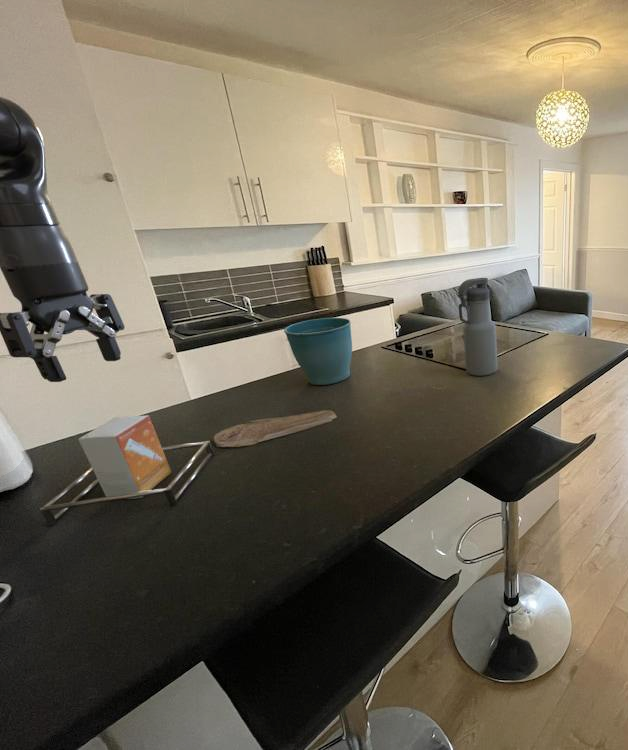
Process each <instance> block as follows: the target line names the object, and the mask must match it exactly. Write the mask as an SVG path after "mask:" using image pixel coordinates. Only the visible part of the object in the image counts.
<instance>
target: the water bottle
mask: <svg viewBox="0 0 628 750" xmlns="http://www.w3.org/2000/svg"><path fill="white" fill-rule="evenodd" d="M488 283H489V278H488V277H477V278H470V279H466V280H464V281H463V282H462V283H461V284H460V285H459V287H458V290H457V297H458V298H459V299H460V303H459V304H458V314H459V315H458V317H459V320H460V322H461V323H462V322H463V323H464V324H463V326H462V334H463V345H464V359H465V360H464V361H465V370H466V372H467V374H469V375H471V376H474V377H486V376H490V375H493V374H494V373H496V372H497V371H498V368H499V367H498V366H499V365H498V347H497V346H498V344H497V325H496V323H495V322H494V321H493V320H492V319H491V314H490V311H491V310H490V300H491V299H490V298H491V295H490V289H489V288H488ZM463 308H465V309H466V310H465V311H466V317H467V319H464V316H463V310H462V309H463Z"/></svg>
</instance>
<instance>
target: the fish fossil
mask: <svg viewBox="0 0 628 750" xmlns="http://www.w3.org/2000/svg"><path fill="white" fill-rule="evenodd" d="M335 419H338V416H337V415H336V413H335V412H333V411H332V410H330V409H329V410H328V409H327V410H320V411H318V410H317V411H312V412H307V413H301V414H295V415H288V416H280V417H271V418H263V419H256V420H250V421H249V422H246V423H243V424H242V423H240V424H236V425H233V426H230V427H228V428H225V429H224V430H221V431H220V432H218V433H215V435H214V436H213V442H214V444H215V446H216V447H217V448H240V447H246V446H247V447H248V446H253V445H257V444H259V443H260V442H261V443H262V442H264V441H269V440H272V439H276V438H281V437H283V436H287V435H288V436H289V435H291V434H292V435H293V434H295V433H298V432H301V431H306V430H309V429H312V428H315V427H318V426H322V425H324V424H328V423H330V422H332V421H333V420H335Z"/></svg>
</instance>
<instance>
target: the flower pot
mask: <svg viewBox="0 0 628 750" xmlns="http://www.w3.org/2000/svg"><path fill="white" fill-rule="evenodd" d="M351 323H352V322H351V320H350V319H349V318H344V317H323V318H315V319H309V320H304V321H300V322H299V321H298V322H295V323H293V324H290V325H288V326H286V327H285V328H284V329H283V332H284V334H285V335H286V338H287V341H288V344H289V346H290V349H291V352H292V354H293V357H294V359H295V361H296V363H297V364H298V366H299V368H300V369H301V370H302V372H303V373H304V374H305V376H306V377H307V378H306V379H307V381H308V383H310V384H311V385H313V386H314V385H315V386H327V385H334V384H337V383H340V382H342V381H344V380H346V379H348V378H349V377H350V375H351V371H350V369H351V361H352V357H353V340H352V329H351Z"/></svg>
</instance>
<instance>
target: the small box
mask: <svg viewBox="0 0 628 750" xmlns="http://www.w3.org/2000/svg"><path fill="white" fill-rule="evenodd" d="M153 424H154V423H153V422H152V419H151V417H150V415H149V414H147V415H130V416H129V415H128V416H116V417H114V418H112V419H110V420H109V421H107V422H105V423H104V424H101V425H100V426H97V427H95V428H94V429H92V430H91V431H90V432H88V433H85V435H83V436H81V437H79V438H78V439H77V441H78V442H79V444H80V446H81V448H82V450H83V452H84V454H85V456H86V459H87V461H88V463H89V465H90V468H91V467H92V469H93V473H94V475H95V477H96V479H98V481H99V483H98V484H99V485H100V488H101V489H102V492H103V494H104V497H110V496H116V495H123V494H129V493H136V492H143V491H149V490H154V488H155V487H157V485H158V484H160V483H161V482H162V481H163V480H164V479H166V478H167V477H168V476H169V475H171V474H172V470H171V467H170V465H169V463H168V460H167V458H166V455H165V453H164V452H165V451H163V450H162V447H163V446H162V445H161V442H160V440H159V438H158V435H157V432H156V430H155V427H154V425H153ZM144 497H145V496H141V497H134V498H128V499H127V500H133V499H142V498H144Z"/></svg>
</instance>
